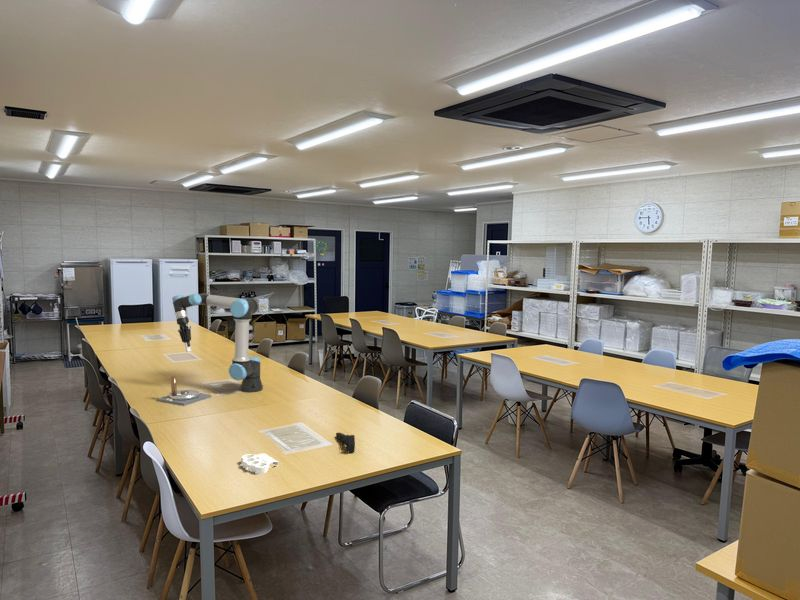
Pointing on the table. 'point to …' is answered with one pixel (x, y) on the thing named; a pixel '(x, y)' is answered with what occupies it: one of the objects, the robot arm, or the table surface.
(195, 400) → the stand plate
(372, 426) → the table surface
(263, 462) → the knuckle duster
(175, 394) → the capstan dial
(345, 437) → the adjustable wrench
